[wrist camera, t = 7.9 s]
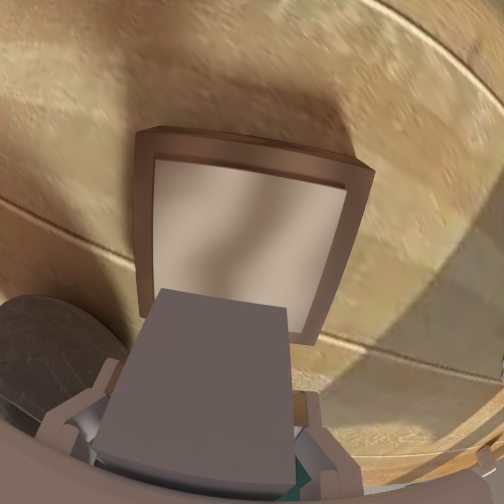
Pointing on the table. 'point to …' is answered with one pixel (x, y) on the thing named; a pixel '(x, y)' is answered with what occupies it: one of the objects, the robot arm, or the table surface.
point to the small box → (486, 460)
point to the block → (205, 400)
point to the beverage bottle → (301, 481)
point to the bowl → (49, 358)
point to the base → (245, 220)
